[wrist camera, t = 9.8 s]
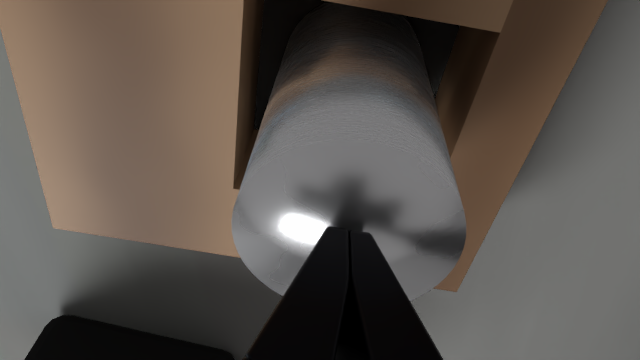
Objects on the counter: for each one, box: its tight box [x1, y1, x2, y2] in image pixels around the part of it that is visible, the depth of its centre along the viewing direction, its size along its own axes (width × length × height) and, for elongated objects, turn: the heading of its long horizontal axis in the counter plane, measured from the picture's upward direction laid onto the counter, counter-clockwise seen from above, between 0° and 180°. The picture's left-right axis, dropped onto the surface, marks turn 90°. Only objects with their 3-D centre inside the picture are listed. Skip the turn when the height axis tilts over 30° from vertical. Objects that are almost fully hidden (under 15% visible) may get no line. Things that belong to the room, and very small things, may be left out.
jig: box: [0, 0, 608, 292], centre depth 14 cm, size 14×12×4 cm
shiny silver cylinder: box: [231, 2, 466, 301], centre depth 12 cm, size 4×4×8 cm
